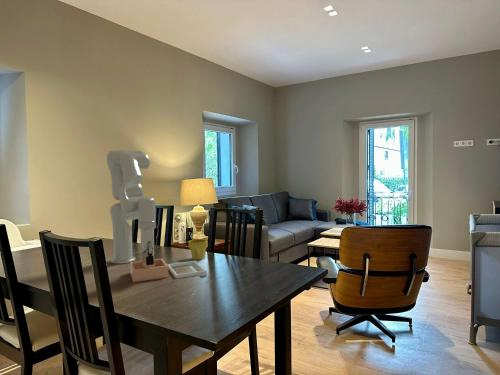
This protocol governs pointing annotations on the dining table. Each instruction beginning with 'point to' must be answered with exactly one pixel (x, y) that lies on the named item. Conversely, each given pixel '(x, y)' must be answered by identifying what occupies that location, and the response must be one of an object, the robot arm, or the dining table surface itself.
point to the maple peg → (145, 260)
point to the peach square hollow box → (148, 270)
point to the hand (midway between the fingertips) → (148, 262)
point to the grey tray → (192, 264)
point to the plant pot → (198, 248)
